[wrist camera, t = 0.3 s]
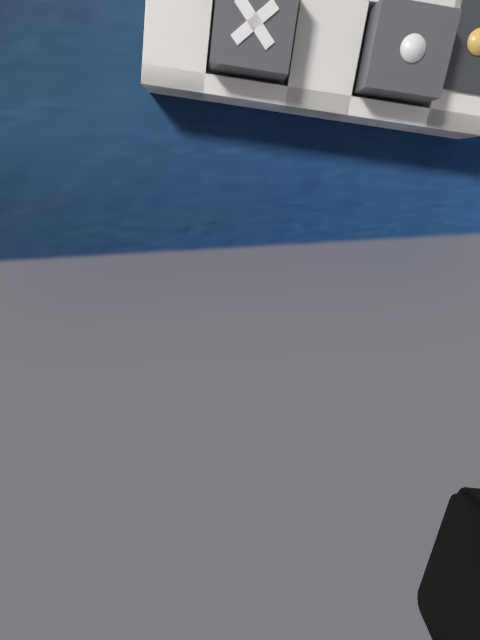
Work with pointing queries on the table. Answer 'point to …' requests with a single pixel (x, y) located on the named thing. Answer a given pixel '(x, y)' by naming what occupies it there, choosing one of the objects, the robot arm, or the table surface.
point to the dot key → (406, 51)
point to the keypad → (311, 67)
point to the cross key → (253, 38)
